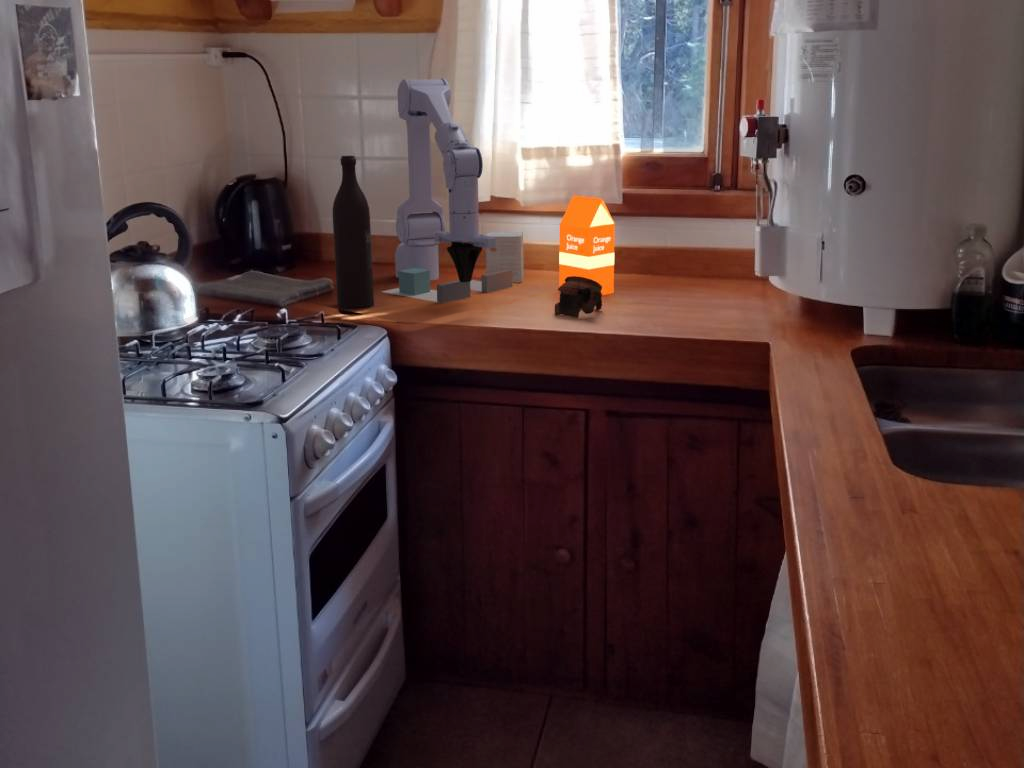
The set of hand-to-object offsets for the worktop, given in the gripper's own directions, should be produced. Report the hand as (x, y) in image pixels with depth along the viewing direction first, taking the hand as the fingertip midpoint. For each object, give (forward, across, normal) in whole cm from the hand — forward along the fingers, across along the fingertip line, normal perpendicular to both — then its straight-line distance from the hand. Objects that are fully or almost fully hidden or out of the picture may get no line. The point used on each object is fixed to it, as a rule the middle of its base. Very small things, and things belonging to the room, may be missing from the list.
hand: (465, 281), depth 209 cm
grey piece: (+5, -12, 0) cm, 13 cm away
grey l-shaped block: (+5, -10, +13) cm, 17 cm away
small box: (+6, -13, +26) cm, 29 cm away
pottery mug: (+6, +21, +10) cm, 24 cm away
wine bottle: (+6, -15, -16) cm, 22 cm away
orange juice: (+6, +9, +27) cm, 29 cm away
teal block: (+4, -15, 0) cm, 15 cm away
